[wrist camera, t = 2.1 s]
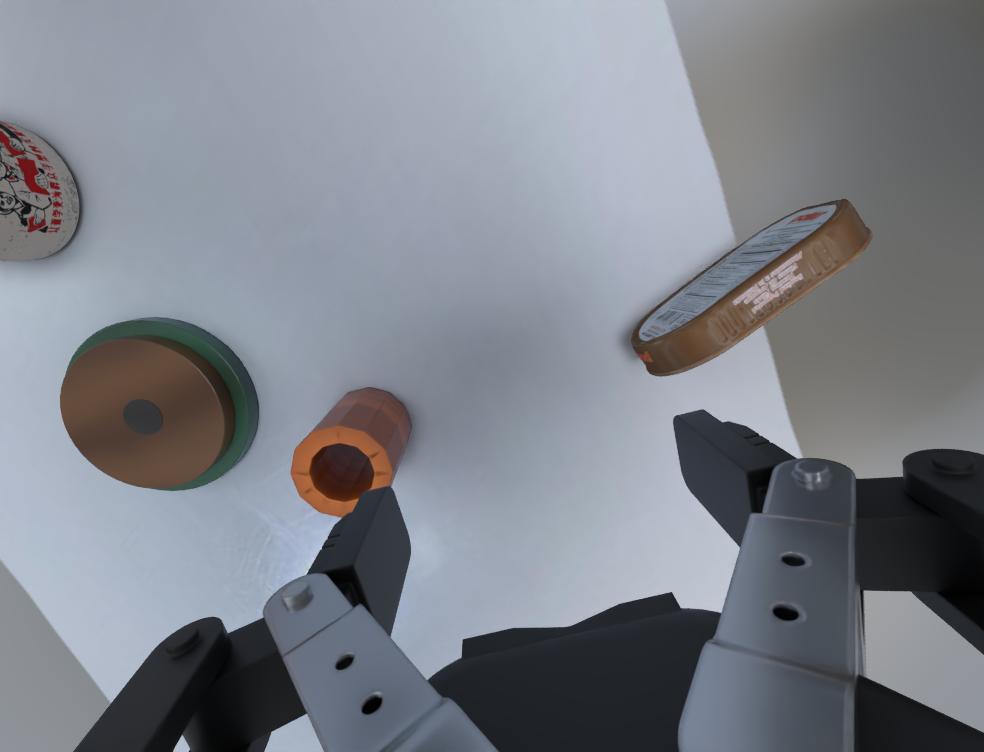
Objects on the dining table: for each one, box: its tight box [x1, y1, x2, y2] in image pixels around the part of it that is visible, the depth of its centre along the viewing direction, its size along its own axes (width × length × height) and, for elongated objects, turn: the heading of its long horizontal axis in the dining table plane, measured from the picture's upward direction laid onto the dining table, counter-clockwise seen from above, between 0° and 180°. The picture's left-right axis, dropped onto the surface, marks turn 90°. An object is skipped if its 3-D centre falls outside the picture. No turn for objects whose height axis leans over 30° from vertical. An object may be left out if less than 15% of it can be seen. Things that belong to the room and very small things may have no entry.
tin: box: [631, 199, 872, 376], centre depth 30 cm, size 15×3×8 cm, turn 128°
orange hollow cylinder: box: [291, 387, 411, 518], centre depth 32 cm, size 6×6×8 cm
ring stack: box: [60, 317, 258, 491], centre depth 34 cm, size 13×13×3 cm
